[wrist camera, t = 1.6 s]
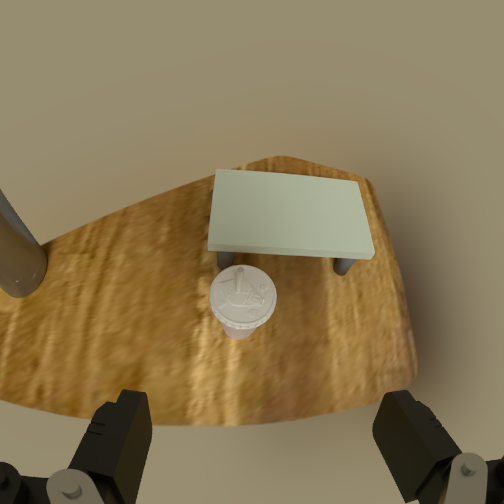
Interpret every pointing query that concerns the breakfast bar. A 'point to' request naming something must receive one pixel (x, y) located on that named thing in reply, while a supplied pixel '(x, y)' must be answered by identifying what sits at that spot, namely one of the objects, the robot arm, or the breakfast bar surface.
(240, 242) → the small table
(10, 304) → the breakfast bar surface
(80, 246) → the breakfast bar surface
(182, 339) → the breakfast bar surface
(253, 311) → the smoothie
